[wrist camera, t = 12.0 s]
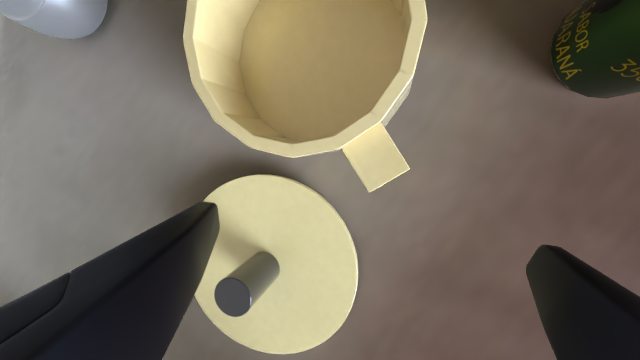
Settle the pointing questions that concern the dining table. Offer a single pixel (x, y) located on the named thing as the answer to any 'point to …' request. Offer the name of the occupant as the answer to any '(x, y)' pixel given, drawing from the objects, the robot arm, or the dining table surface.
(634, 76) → the beer can
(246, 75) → the pot
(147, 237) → the robot arm
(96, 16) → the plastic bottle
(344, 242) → the pot lid
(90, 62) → the dining table surface
